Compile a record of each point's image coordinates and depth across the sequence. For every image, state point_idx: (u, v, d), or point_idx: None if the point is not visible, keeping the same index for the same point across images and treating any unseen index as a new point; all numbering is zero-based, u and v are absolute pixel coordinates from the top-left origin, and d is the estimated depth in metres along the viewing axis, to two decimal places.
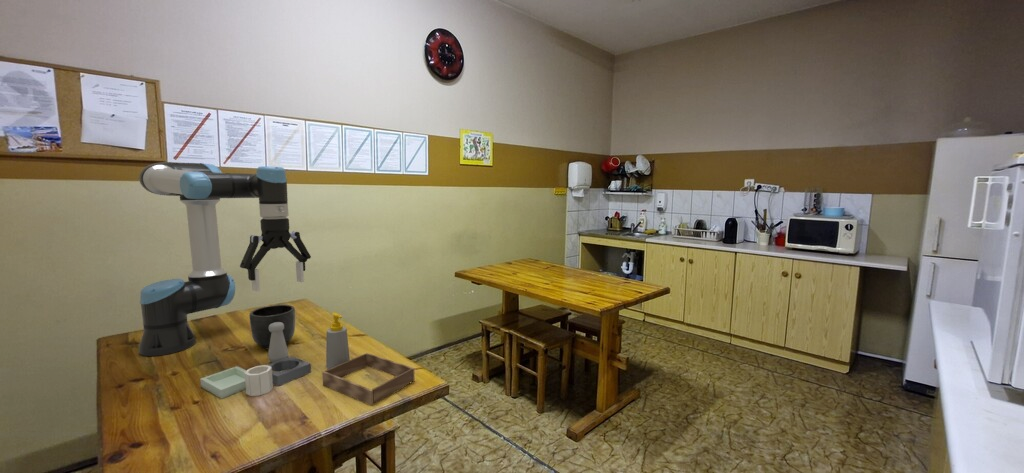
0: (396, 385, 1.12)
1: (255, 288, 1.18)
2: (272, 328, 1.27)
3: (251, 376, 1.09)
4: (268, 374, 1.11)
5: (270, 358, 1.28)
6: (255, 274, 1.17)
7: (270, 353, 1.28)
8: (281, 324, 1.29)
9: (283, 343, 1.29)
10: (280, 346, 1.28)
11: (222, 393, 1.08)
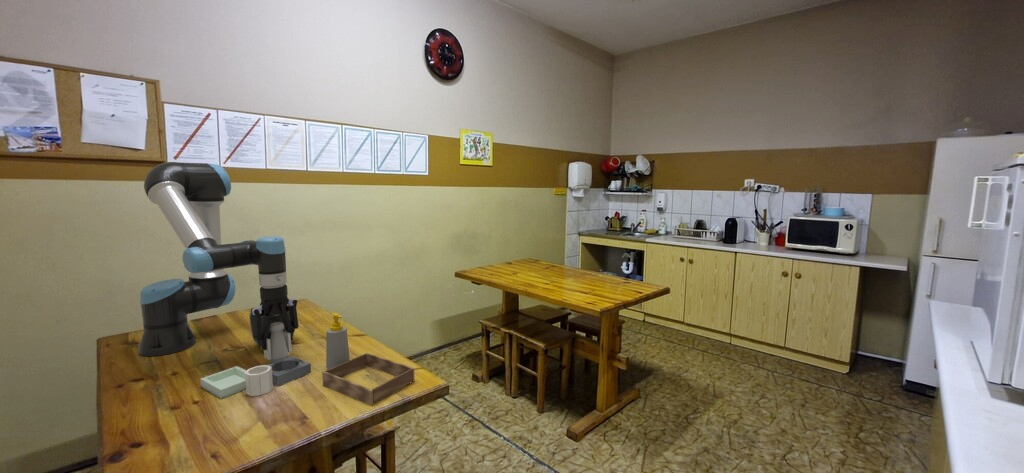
0: (396, 385, 1.12)
1: (267, 356, 1.27)
2: (272, 328, 1.27)
3: (251, 376, 1.09)
4: (268, 374, 1.11)
5: None
6: (267, 344, 1.26)
7: None
8: (281, 324, 1.29)
9: (283, 343, 1.29)
10: (280, 346, 1.28)
11: (222, 393, 1.08)
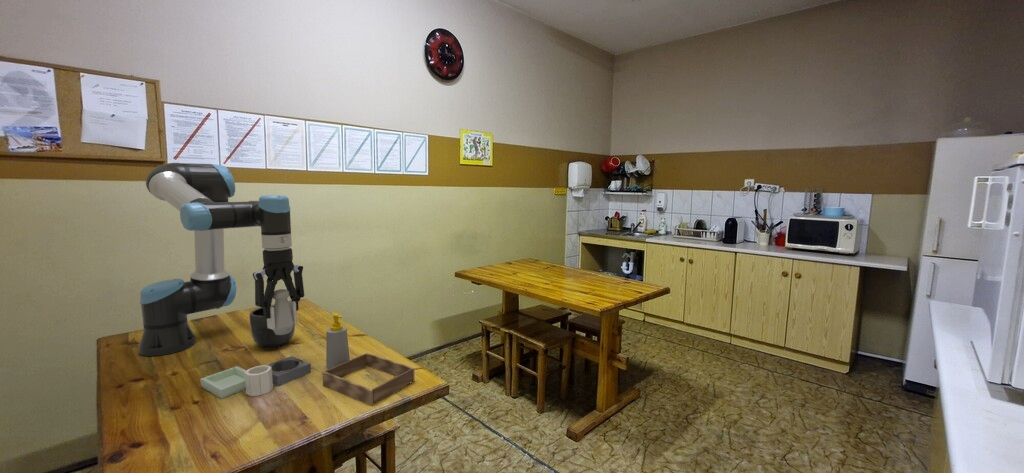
0: (396, 385, 1.12)
1: (270, 326, 1.16)
2: (276, 295, 1.16)
3: (251, 376, 1.09)
4: (268, 374, 1.11)
5: None
6: (270, 312, 1.15)
7: None
8: (286, 291, 1.18)
9: (288, 312, 1.19)
10: (285, 315, 1.18)
11: (222, 393, 1.08)
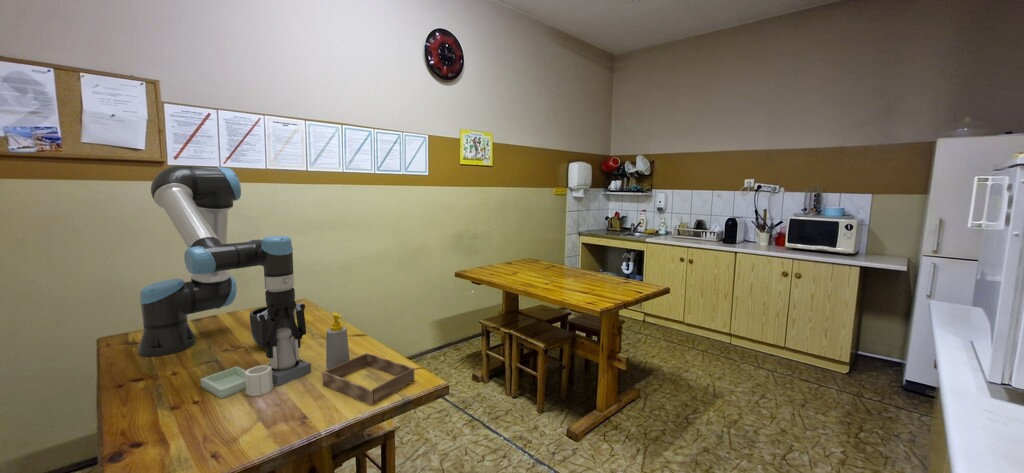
0: (396, 385, 1.12)
1: (273, 365, 1.18)
2: (279, 335, 1.18)
3: (251, 376, 1.09)
4: (268, 374, 1.11)
5: None
6: (273, 352, 1.17)
7: None
8: (288, 330, 1.20)
9: (290, 350, 1.20)
10: (287, 354, 1.19)
11: (222, 393, 1.08)
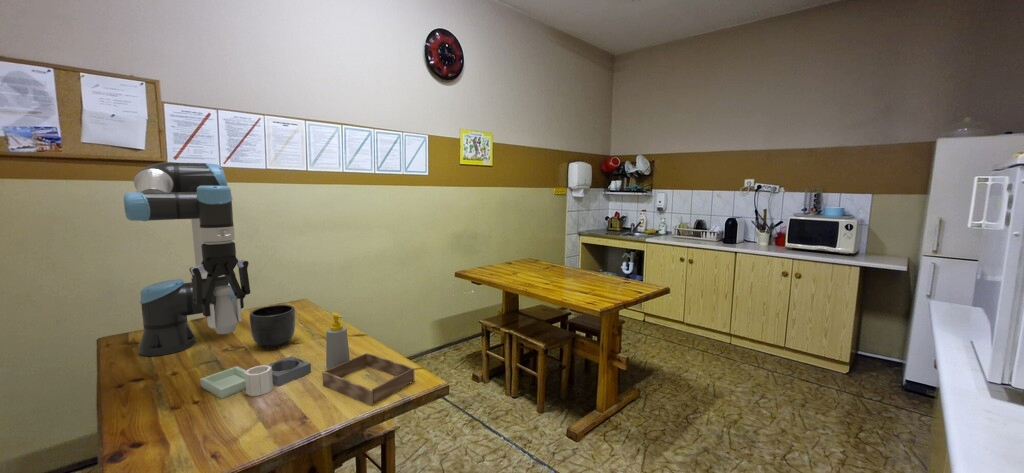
0: (396, 385, 1.12)
1: (210, 324, 1.09)
2: (217, 292, 1.09)
3: (251, 376, 1.09)
4: (268, 374, 1.11)
5: None
6: (210, 310, 1.08)
7: (215, 321, 1.10)
8: (228, 287, 1.11)
9: (231, 310, 1.12)
10: (227, 313, 1.11)
11: (222, 393, 1.08)
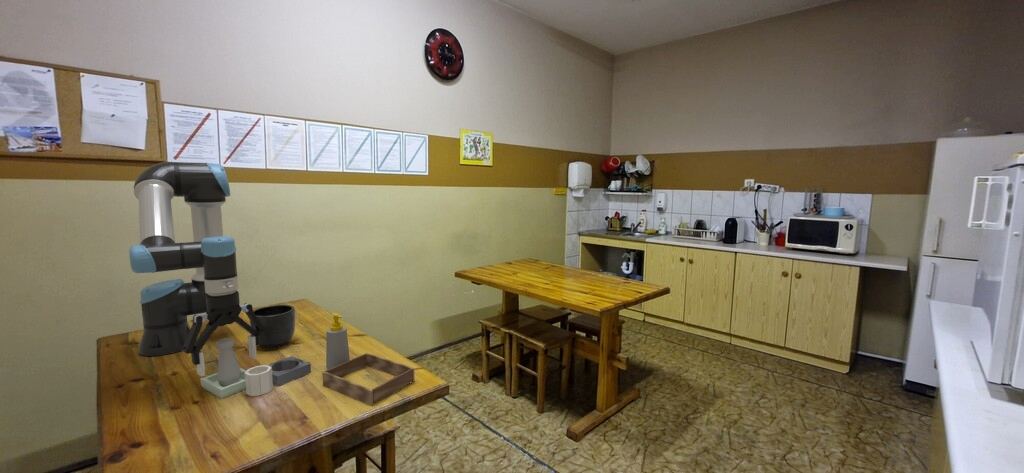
0: (396, 385, 1.12)
1: (200, 372, 1.08)
2: (219, 345, 1.11)
3: (251, 376, 1.09)
4: (268, 374, 1.11)
5: (219, 379, 1.12)
6: (199, 358, 1.07)
7: (219, 374, 1.12)
8: (230, 340, 1.13)
9: (234, 361, 1.14)
10: (230, 365, 1.13)
11: (222, 393, 1.08)
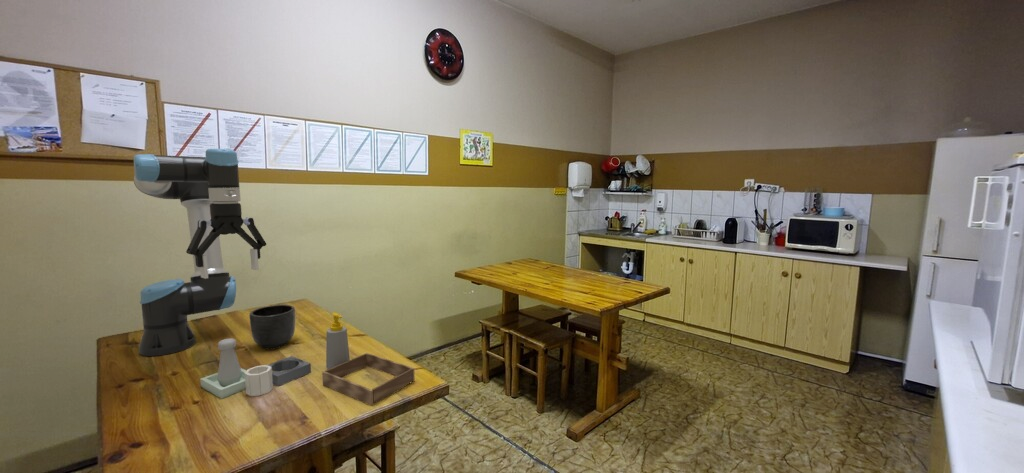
0: (396, 385, 1.12)
1: (203, 275, 1.14)
2: (221, 346, 1.11)
3: (251, 376, 1.09)
4: (268, 374, 1.11)
5: (219, 380, 1.12)
6: (203, 260, 1.13)
7: (219, 374, 1.12)
8: (232, 341, 1.13)
9: (235, 362, 1.14)
10: (231, 366, 1.13)
11: (222, 393, 1.08)
